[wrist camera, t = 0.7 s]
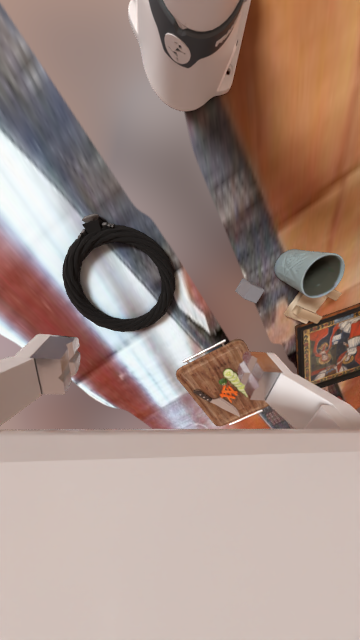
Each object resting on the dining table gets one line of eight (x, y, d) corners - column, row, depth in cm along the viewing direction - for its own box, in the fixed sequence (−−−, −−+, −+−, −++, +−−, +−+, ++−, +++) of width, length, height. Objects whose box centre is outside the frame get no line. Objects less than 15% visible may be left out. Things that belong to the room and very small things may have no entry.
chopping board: (273, 404, 82) (277, 410, 80) (218, 428, 86) (220, 434, 83) (239, 330, 61) (243, 335, 59) (169, 366, 65) (169, 372, 63)
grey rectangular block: (242, 278, 52) (252, 284, 47) (253, 283, 54) (264, 290, 48) (235, 291, 54) (243, 298, 49) (246, 295, 55) (256, 303, 50)
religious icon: (380, 362, 77) (387, 367, 74) (297, 395, 81) (301, 400, 79) (386, 283, 60) (396, 285, 57) (280, 329, 64) (285, 334, 62)
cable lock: (96, 345, 54) (24, 236, 39) (99, 338, 57) (35, 235, 42) (188, 317, 52) (150, 193, 38) (186, 311, 56) (150, 195, 41)
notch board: (312, 272, 54) (326, 277, 50) (331, 282, 56) (346, 287, 52) (283, 313, 60) (293, 321, 55) (302, 320, 62) (313, 328, 57)
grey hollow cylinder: (288, 239, 49) (324, 245, 38) (314, 256, 52) (355, 265, 41) (265, 275, 53) (292, 288, 42) (290, 288, 56) (322, 304, 45)
